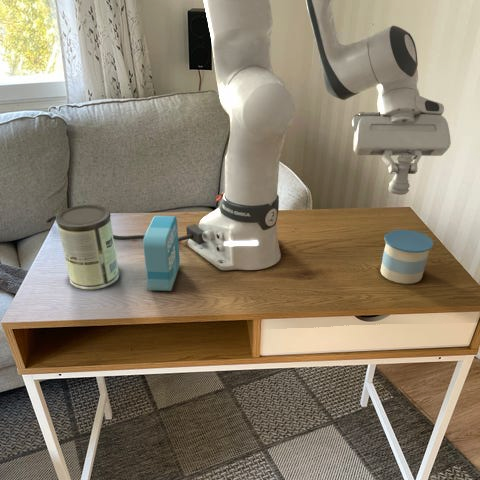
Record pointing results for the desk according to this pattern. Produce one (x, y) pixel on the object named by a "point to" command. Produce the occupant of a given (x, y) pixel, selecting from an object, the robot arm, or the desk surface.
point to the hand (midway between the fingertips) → (403, 172)
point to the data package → (161, 253)
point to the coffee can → (88, 246)
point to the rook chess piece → (401, 175)
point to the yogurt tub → (405, 256)
